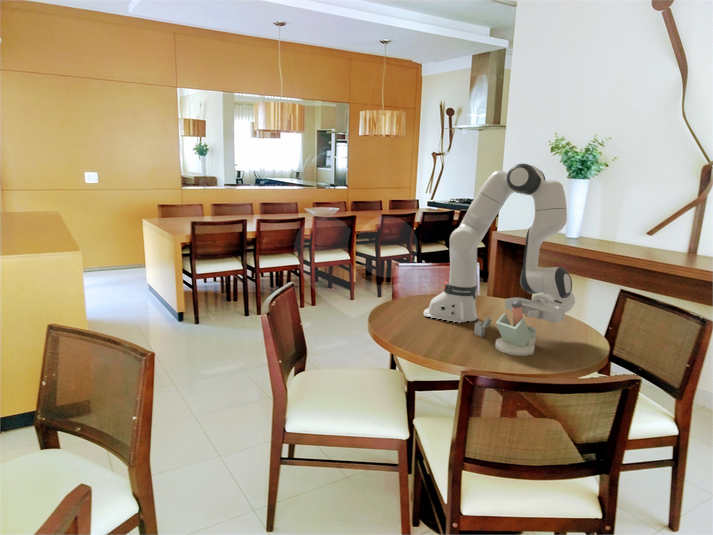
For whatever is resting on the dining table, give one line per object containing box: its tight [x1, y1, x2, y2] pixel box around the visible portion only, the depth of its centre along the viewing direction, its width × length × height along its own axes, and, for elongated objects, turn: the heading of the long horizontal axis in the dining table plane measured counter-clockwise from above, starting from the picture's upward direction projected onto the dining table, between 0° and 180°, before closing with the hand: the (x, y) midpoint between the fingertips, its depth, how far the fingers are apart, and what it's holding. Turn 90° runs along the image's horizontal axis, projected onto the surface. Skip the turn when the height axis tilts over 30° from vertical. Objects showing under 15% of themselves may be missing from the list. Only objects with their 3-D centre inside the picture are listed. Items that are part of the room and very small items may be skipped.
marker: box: [511, 300, 524, 327], centre depth 166 cm, size 3×3×12 cm
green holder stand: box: [494, 312, 537, 357], centre depth 167 cm, size 13×13×12 cm
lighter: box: [473, 317, 493, 338], centre depth 180 cm, size 7×2×8 cm, turn 27°
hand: (519, 312), depth 166 cm, fingers open, 5 cm apart
